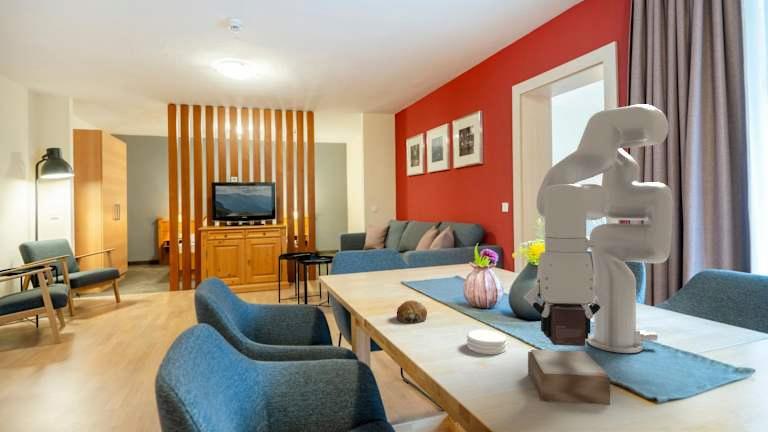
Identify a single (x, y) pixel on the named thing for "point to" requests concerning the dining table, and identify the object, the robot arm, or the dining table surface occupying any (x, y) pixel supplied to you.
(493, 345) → the coaster
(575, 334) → the box
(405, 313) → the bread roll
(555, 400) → the plinth
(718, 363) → the dining table surface
